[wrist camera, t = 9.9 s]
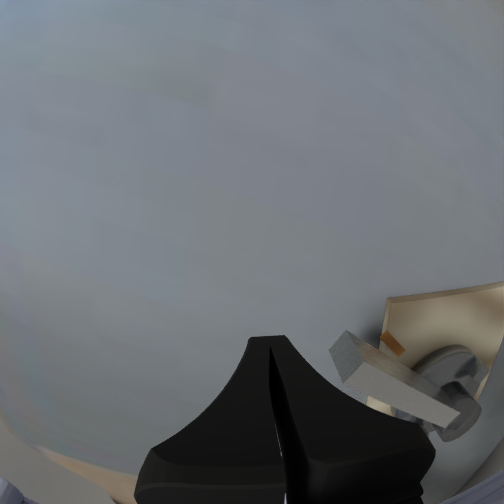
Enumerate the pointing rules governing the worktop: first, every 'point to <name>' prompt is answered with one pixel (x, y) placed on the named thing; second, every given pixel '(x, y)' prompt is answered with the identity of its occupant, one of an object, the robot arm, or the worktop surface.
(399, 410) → the metal lever mechanism
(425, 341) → the square wooden board
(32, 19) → the worktop surface
